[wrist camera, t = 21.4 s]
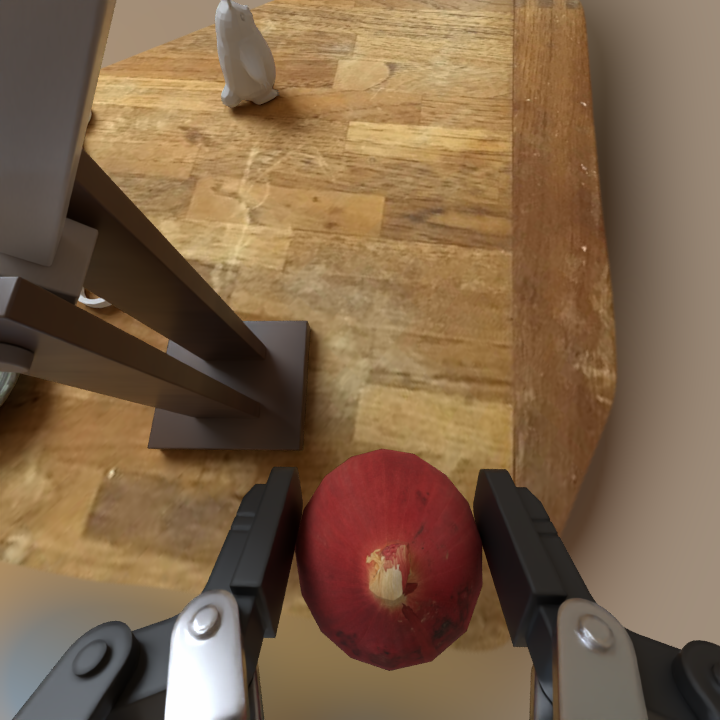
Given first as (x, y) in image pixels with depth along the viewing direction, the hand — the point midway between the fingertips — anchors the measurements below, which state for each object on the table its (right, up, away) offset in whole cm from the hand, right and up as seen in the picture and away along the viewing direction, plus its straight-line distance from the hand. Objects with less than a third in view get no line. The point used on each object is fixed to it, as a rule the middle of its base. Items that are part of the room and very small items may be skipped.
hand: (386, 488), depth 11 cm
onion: (0, -3, +4) cm, 5 cm away
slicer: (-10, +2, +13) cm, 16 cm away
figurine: (-11, +30, +22) cm, 39 cm away
